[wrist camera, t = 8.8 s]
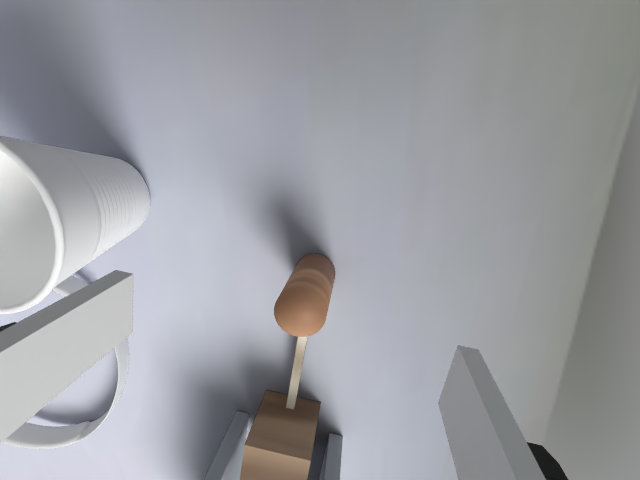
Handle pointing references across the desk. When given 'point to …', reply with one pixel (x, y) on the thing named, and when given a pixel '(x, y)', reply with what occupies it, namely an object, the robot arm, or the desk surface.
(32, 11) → the desk surface
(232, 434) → the lane
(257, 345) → the desk surface
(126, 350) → the headphones
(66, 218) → the cup
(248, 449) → the tethered block
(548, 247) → the desk surface
